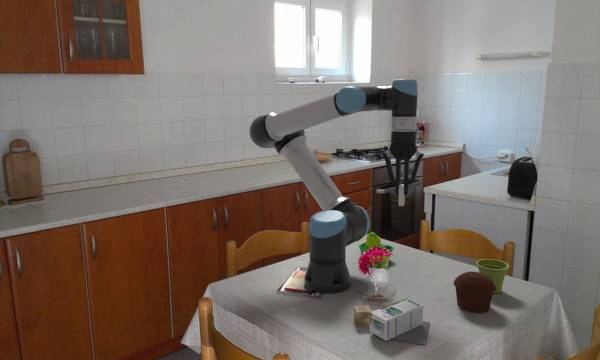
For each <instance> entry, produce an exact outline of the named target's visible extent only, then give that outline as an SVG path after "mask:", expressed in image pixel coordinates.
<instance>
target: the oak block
mask: <svg viewBox="0 0 600 360" xmlns="http://www.w3.org/2000/svg"><path fill="white" fill-rule="evenodd" d="M353 310H354V311H353V320H354V323H355V324H354V325H355V326H356V327H363V326H364V327H368V326H369V327H370V313H371V312H372V309H371V308H370V305H354V307H353Z"/></svg>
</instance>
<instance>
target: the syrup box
mask: <svg viewBox="0 0 600 360" xmlns="http://www.w3.org/2000/svg"><path fill="white" fill-rule="evenodd" d="M423 317H424V305H423V304H421V303H419V302H416V301H415V300H413V299H410V298H408V297H406V298H403V299H401V300H398V301H396V302H393V303H391V304H388V305H385V306H383V307H380V308H378V309H376V310H373V311H372V310H371V313H370V326H369V332H370V333H371V334H374V335H375V336H376V337H377V336H378V337H380V338H379V339H382V340H383V341H389V340H390V339H391V338H393V337H396V336H398V335H400V334H402V333H404V332H407V331H409V330H411V329H413V328H416V327H418V326H420V325H422V321H424V320H423V319H424V318H423ZM378 337H377V338H378Z"/></svg>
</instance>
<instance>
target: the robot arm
mask: <svg viewBox="0 0 600 360" xmlns="http://www.w3.org/2000/svg"><path fill="white" fill-rule="evenodd" d="M418 96H419V93H418V81H417V80H416V79H413V78H411V79H409V78H408V79H407V78H406V79H405V78H404V79H403V78H399V79H394V80H392V84H391V85H388V86H387V85H386V86H383V85H382V86H381V85H380V86H379V85H378V86H376V85H372V86H371V85H368V86H367V85H365V86H364V85H363V86H360V85H359V86H357V85H349V86H344V87H342V88H341V89H340V90H339V91H337V92H335V93H332V94H328V95H325V96H323V97H320V98H318V99H315V100H312V101H310V102H307V103H304V104H301V105H298V106H296V107H293V108H290V109H287V110H285V111H282V112H279V113H276V112H270V113H267V114H264V115H260V116H258V117H256V118H255V119H253V121H251V124H250V127H249V135H250V139H251V140H252V142H253V143H254V144H255V145H256V146H258V147H259V148H261V149H273V148H274V149H275V150H276V152H277V154H278V155H279V157H282V158H283V157H284V158H286V159H287V160H288V162H289V163H290V165H291V167H292V168H293V169H294V171H295V172H296V174H297V175H298V176H299V178H300V180H301V181H302V183H303V184H304V186H305V187H306V188H307V189H308V191H309V193H310V194H311V195H312V197H313V198H314V200H315V201H316V203H317V204H318V206H319V207H320V209H321V210H322V211H317V212H316V213H314V214H312V216H311V217H310V219H309V225H308V226H309V227H308V236H309V238H308V239H309V241H308V243H309V261H308V265H307V269H306V271H305V274H304V279H303V280H304V283H305V284H304V286H305V285H306V286H307V287H308V288H310V289H312V290H314V291H313V292H316V291H317V292H316V293H321V292H322V293H323V294H334V293H340V292H344V291H346V290H348V289H349V288H350V287H351V284H352V281H351V279H352V278H351V275H350V271H349V269H348V266H347V262H346V247H348V246H350V245H352V244H354V243H356V242H359V241H360V240H362V239H363V238H364V237H365V236H367V235H368V234H369V230H370V227H371V220H370V215H369V213H368V212H367V211H366V209H365V208H364V207H362V206H359V205H356V204H355V203H354V202H353V200H351V198H350V197H346V196H343V194H342V193H341V192H340V190H339V189H338V186H336V185H335V183H334V181H333V180H332V179H331V177H330V176H329V174H328V173H327V172H326V170H325V169H324V168H323V166H322V165H321V163H320V161H319V160H318V159H317V157H316V156H315V155H314V153H313V152H312V150H311V149H310V147H309V146H308V145H307V136H306V135H305V133H306V131H305V130H307V129H310V128H312V127H315V126H319V125H322V124H325V123H328V122H330V121H335V120H336V119H337V120H338V119H341V118H343V117H346V116H349V115H353V114H356V113H360V112H371V111H372V112H373V111H374V112H375V111H389V112H390V111H391V130H392V131H391V132H390V133H391V134H390V145H389V148H388V149H387V150H386V151H384V152H382V154H381V156H382V157H383V159H384V160H385V166H386V169H387V175H388V180H389V182H390V183H392V184H394V185H395V190H394V191H395V193H394V194H395V195H396V196H397V195H398V206H399V207H404V205H405V199H406V198H405V197H406V196H408V194H409V185H411V184H412V185H413V184H414V183H415V181H416V178H417V175H418V170H419V167H420V164H421V161H422V159H423V158H424V156H425V153H423V152H421V151H420V150H418V147H417V132H416V131H415V130H417V122H418V121H417V119H418V116H417V114H418V113H417V111H418ZM414 155H415V158H416V159H415V162H414V165H413V169H412V172H411V174H410V160H411V159H412V158H413V157H414ZM391 156H393V158H394V159H395V175H394V170H393V169H394V168H393V164H392V160H391ZM402 161H403V165H404V167H403V168H404V169H403V183H401V182H402V181H401V180H402V179H401V178H402V176H401V175H402V174H401V173H402ZM410 175H411V176H410ZM306 286H305V287H306ZM307 287H306V288H307ZM308 288H307V289H308ZM310 289H309V290H310ZM312 290H311V291H312Z"/></svg>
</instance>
